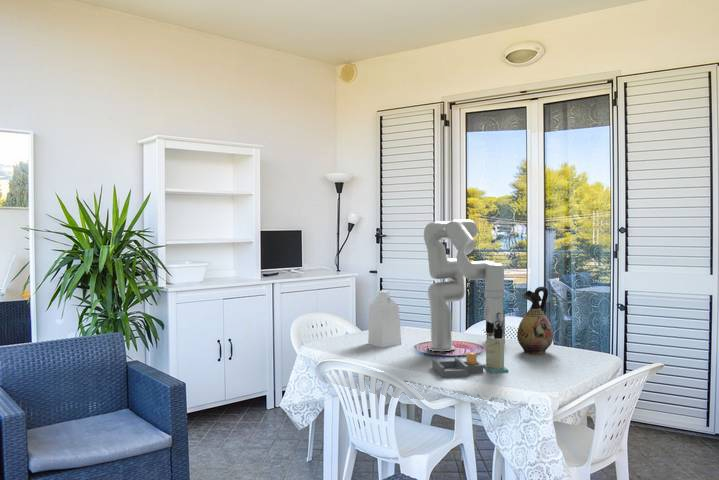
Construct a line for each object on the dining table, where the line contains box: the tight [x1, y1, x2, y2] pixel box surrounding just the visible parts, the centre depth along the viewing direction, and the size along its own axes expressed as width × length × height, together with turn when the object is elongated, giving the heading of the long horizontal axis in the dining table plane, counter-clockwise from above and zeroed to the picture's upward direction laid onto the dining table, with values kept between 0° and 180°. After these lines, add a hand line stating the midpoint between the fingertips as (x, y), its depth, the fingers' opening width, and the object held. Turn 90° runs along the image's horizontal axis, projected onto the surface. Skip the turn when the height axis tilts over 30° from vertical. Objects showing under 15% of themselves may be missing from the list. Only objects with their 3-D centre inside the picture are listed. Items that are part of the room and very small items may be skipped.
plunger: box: [465, 352, 478, 365], centre depth 234 cm, size 4×4×6 cm
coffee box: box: [486, 309, 506, 344], centre depth 284 cm, size 9×6×16 cm
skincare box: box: [485, 336, 505, 369], centre depth 234 cm, size 6×4×12 cm
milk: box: [367, 290, 402, 349], centre depth 286 cm, size 12×12×26 cm
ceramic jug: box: [516, 286, 554, 356], centre depth 260 cm, size 17×15×30 cm
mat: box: [482, 363, 509, 374], centre depth 235 cm, size 10×7×1 cm
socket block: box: [431, 356, 484, 379], centre depth 233 cm, size 15×18×4 cm
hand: (493, 335), depth 235 cm, fingers open, 9 cm apart
